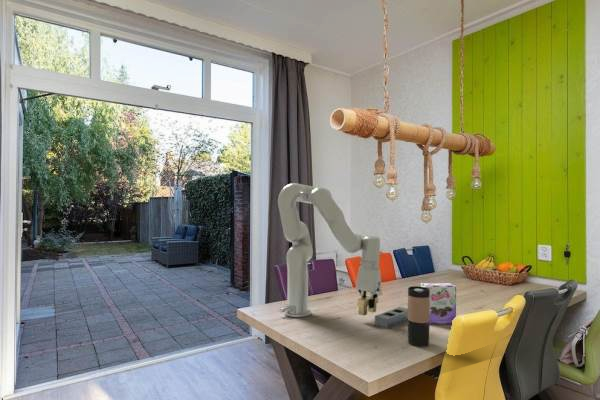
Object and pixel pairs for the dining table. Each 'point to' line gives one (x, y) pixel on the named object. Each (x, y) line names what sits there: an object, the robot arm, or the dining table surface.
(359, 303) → the khaki arch block
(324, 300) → the dining table surface
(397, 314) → the grey cinder block
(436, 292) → the candy box
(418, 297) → the travel mug
